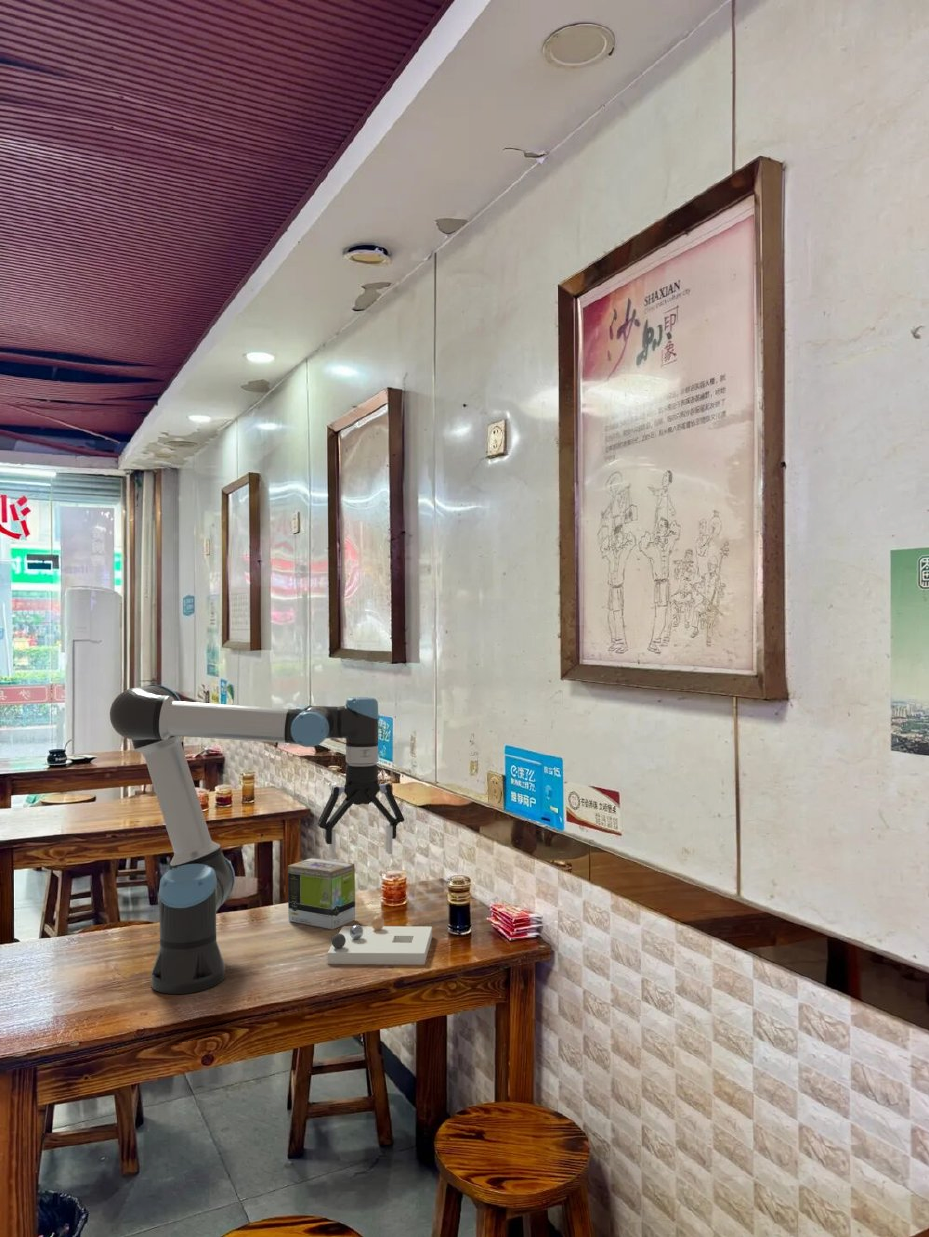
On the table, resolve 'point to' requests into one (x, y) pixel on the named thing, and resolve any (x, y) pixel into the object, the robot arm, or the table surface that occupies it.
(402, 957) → the platform
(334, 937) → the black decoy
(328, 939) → the table surface
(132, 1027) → the table surface
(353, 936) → the steel ball
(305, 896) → the tea box
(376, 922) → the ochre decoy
